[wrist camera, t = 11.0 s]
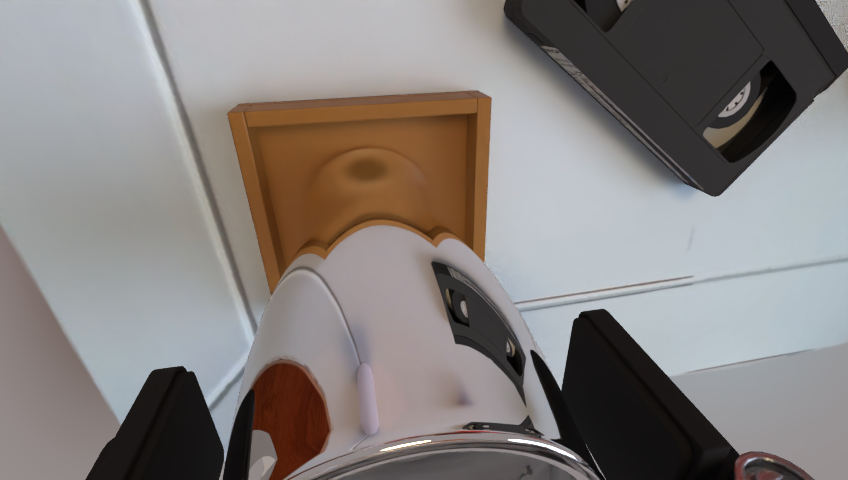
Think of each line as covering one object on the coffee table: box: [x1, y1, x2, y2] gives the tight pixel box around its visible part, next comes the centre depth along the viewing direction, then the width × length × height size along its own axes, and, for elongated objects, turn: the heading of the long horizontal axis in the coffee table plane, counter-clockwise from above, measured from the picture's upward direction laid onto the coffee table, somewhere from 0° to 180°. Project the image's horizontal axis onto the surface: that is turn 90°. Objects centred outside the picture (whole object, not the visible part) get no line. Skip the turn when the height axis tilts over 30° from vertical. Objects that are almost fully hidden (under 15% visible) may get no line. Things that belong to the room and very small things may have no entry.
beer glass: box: [223, 148, 605, 480], centre depth 13 cm, size 7×7×15 cm
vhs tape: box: [504, 0, 848, 197], centre depth 18 cm, size 14×8×2 cm, turn 54°
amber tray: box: [227, 91, 491, 296], centre depth 19 cm, size 10×10×2 cm
